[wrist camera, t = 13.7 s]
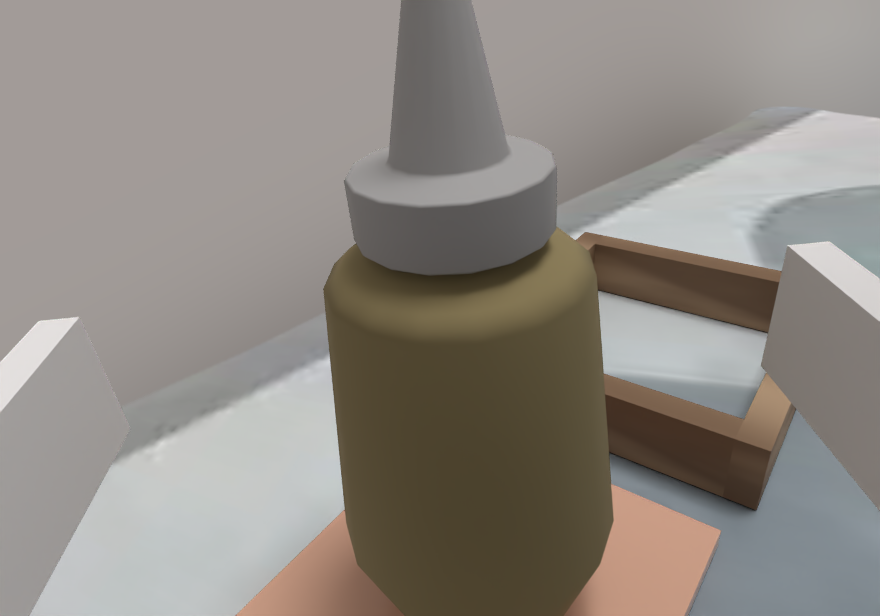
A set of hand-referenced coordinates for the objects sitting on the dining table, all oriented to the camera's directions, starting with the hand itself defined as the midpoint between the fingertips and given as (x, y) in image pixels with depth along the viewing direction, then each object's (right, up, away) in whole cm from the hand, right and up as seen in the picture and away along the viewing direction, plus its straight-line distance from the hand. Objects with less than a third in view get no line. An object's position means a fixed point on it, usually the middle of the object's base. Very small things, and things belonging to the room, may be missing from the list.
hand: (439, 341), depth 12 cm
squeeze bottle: (+1, -9, +9) cm, 13 cm away
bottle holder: (+10, -2, +19) cm, 22 cm away
